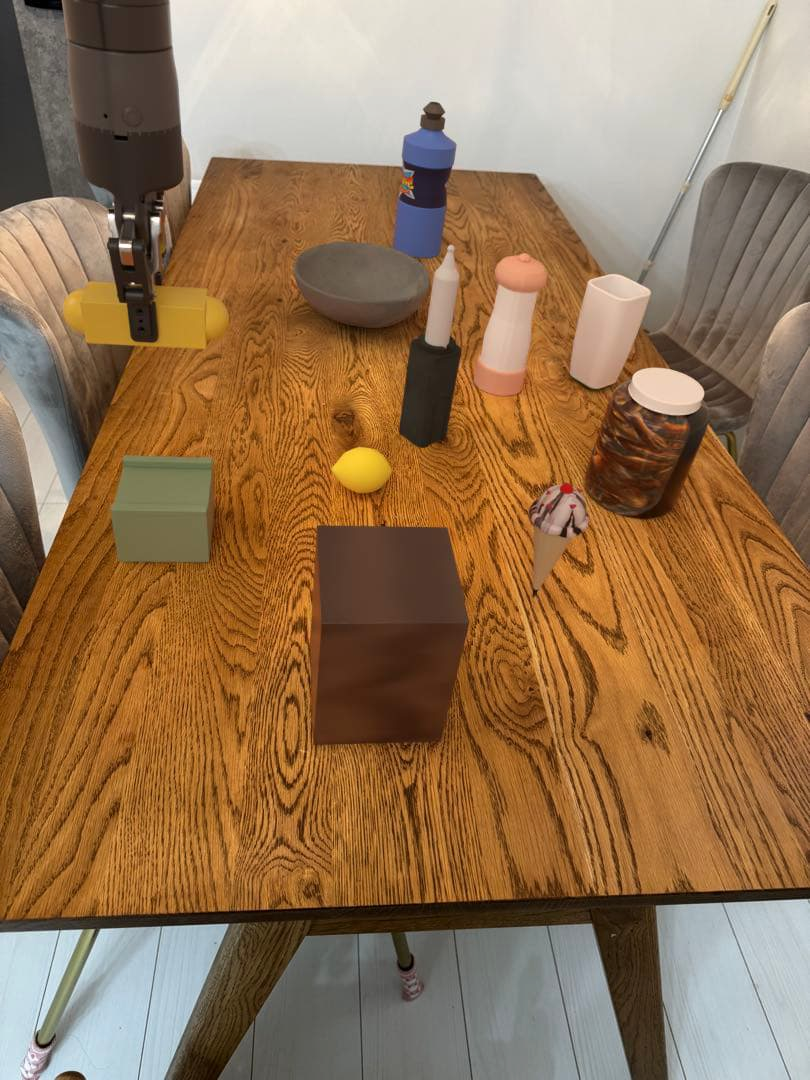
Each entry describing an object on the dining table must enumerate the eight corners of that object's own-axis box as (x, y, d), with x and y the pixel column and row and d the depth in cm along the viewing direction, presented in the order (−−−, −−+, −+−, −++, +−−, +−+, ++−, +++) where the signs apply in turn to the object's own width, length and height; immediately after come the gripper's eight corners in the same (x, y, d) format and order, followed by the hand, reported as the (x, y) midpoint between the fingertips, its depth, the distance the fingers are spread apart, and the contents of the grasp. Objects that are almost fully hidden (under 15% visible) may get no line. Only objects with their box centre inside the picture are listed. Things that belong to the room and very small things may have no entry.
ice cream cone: (535, 572, 88) (569, 459, 79) (571, 604, 85) (612, 491, 75) (495, 590, 85) (526, 475, 76) (532, 625, 82) (569, 510, 72)
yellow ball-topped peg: (62, 342, 69) (54, 300, 66) (71, 320, 72) (64, 279, 69) (228, 350, 71) (227, 309, 68) (231, 329, 74) (230, 289, 71)
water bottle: (401, 258, 149) (418, 109, 133) (385, 238, 156) (400, 94, 140) (448, 257, 152) (470, 111, 136) (430, 238, 159) (450, 96, 143)
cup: (625, 385, 123) (656, 292, 113) (593, 397, 119) (623, 301, 109) (589, 364, 126) (616, 272, 117) (557, 375, 123) (583, 280, 113)
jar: (677, 529, 97) (723, 422, 87) (580, 506, 98) (615, 399, 88) (675, 474, 106) (716, 372, 96) (586, 454, 107) (618, 351, 97)
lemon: (387, 476, 98) (392, 438, 95) (391, 504, 94) (396, 466, 91) (329, 474, 97) (332, 436, 94) (331, 502, 93) (333, 463, 90)
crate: (312, 745, 68) (321, 623, 59) (309, 646, 77) (316, 524, 67) (441, 741, 70) (469, 622, 60) (424, 645, 78) (447, 526, 69)
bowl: (437, 304, 136) (444, 258, 131) (407, 360, 121) (413, 309, 116) (317, 278, 139) (319, 231, 134) (272, 329, 123) (272, 278, 118)
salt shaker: (465, 371, 120) (489, 243, 108) (510, 369, 122) (538, 243, 110) (484, 397, 115) (511, 266, 103) (530, 394, 117) (562, 265, 105)
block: (118, 561, 82) (109, 509, 78) (130, 505, 89) (123, 454, 84) (209, 562, 84) (206, 511, 79) (214, 507, 90) (212, 457, 86)
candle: (424, 419, 109) (452, 233, 93) (449, 437, 106) (483, 249, 90) (395, 429, 106) (419, 240, 90) (420, 449, 103) (450, 257, 87)
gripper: (91, 83, 64) (116, 290, 75) (52, 135, 54) (88, 366, 65) (188, 93, 66) (199, 295, 77) (170, 145, 55) (185, 371, 66)
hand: (148, 326), depth 71 cm, fingers closed on yellow ball-topped peg, 4 cm apart
